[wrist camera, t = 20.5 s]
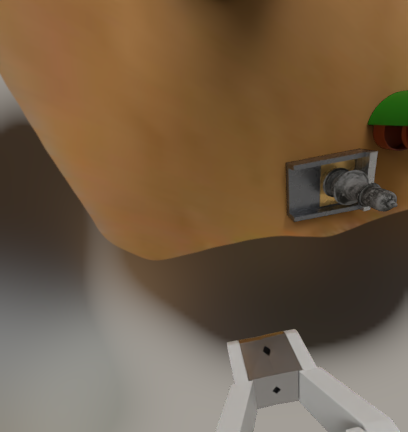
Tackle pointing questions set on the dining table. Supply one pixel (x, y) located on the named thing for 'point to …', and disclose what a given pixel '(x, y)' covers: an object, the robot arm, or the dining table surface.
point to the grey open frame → (313, 183)
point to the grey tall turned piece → (357, 190)
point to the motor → (391, 122)
